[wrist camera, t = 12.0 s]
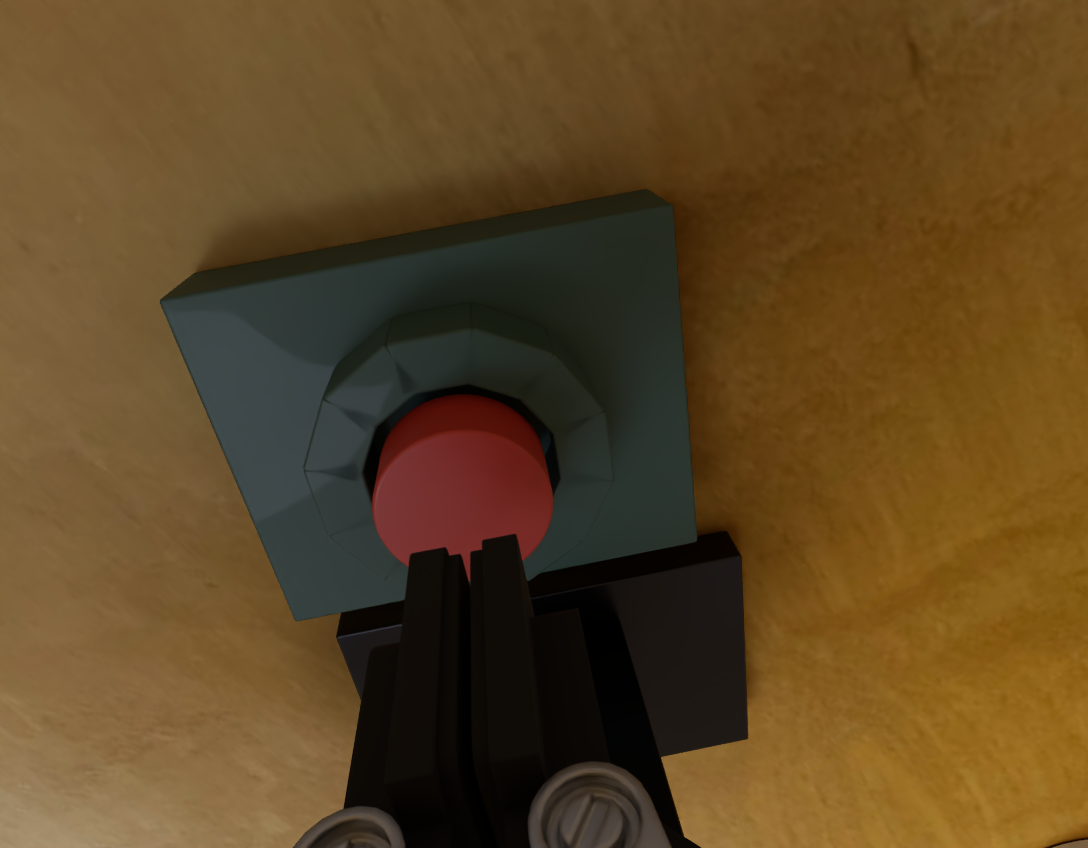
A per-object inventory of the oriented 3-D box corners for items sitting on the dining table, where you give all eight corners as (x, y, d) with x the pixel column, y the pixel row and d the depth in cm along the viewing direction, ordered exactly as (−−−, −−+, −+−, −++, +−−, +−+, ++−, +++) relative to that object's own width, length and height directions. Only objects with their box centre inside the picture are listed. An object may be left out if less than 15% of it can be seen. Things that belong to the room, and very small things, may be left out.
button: (403, 547, 16) (397, 597, 15) (360, 410, 15) (349, 450, 13) (555, 517, 17) (565, 564, 15) (530, 378, 15) (538, 413, 13)
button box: (309, 570, 21) (279, 674, 17) (191, 272, 17) (120, 328, 13) (676, 498, 21) (720, 586, 18) (649, 187, 17) (700, 219, 13)
